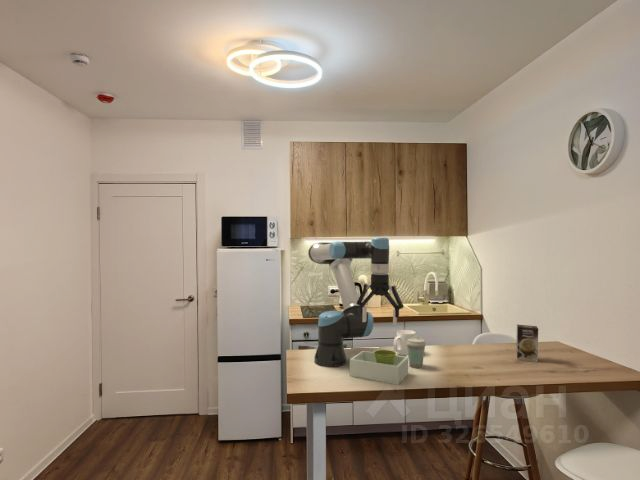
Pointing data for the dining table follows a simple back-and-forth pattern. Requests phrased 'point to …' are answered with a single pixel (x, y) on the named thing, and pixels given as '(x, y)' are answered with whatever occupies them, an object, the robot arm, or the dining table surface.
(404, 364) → the box
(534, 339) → the coffee box
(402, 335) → the mug
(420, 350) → the coffee cup
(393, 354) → the plant pot
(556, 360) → the dining table surface
